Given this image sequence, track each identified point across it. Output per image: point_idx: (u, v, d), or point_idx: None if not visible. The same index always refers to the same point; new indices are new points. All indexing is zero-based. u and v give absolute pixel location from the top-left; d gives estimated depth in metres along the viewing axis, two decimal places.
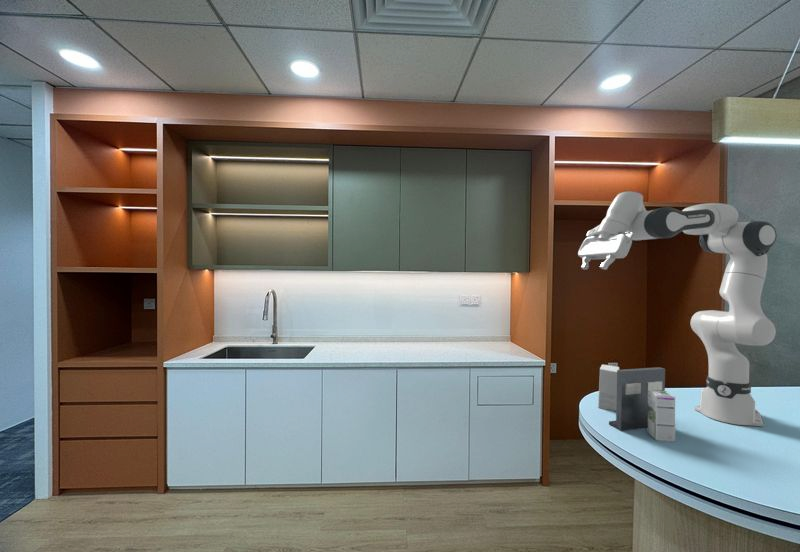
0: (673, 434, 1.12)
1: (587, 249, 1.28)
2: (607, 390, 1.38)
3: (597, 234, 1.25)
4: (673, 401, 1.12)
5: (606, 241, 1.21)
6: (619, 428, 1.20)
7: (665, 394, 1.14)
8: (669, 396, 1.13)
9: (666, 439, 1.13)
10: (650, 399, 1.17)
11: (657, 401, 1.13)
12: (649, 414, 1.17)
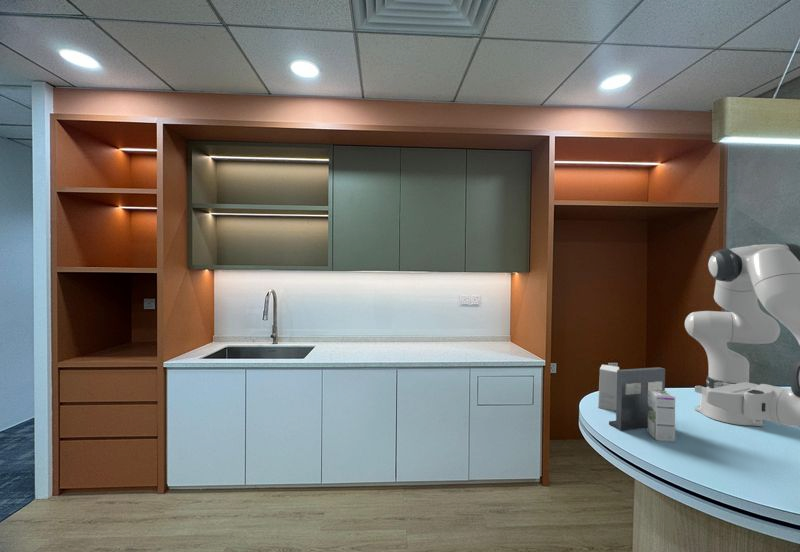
0: (673, 434, 1.12)
1: None
2: (607, 390, 1.38)
3: None
4: (673, 401, 1.12)
5: None
6: (619, 428, 1.20)
7: (665, 394, 1.14)
8: (669, 396, 1.13)
9: (666, 439, 1.13)
10: (650, 399, 1.17)
11: (657, 401, 1.13)
12: (649, 414, 1.17)
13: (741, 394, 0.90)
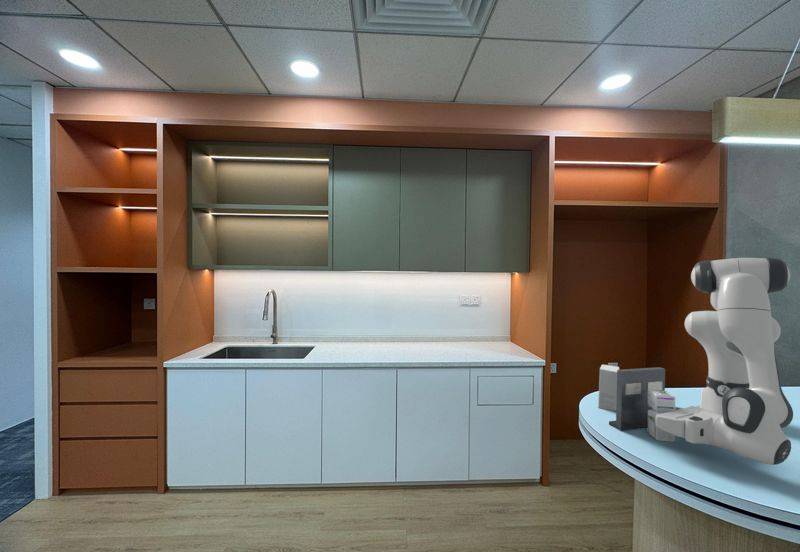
0: None
1: None
2: (607, 390, 1.38)
3: None
4: (673, 401, 1.12)
5: None
6: (619, 428, 1.20)
7: (665, 394, 1.14)
8: (669, 396, 1.13)
9: (666, 439, 1.13)
10: (650, 399, 1.17)
11: (657, 401, 1.13)
12: None
13: (683, 420, 1.02)
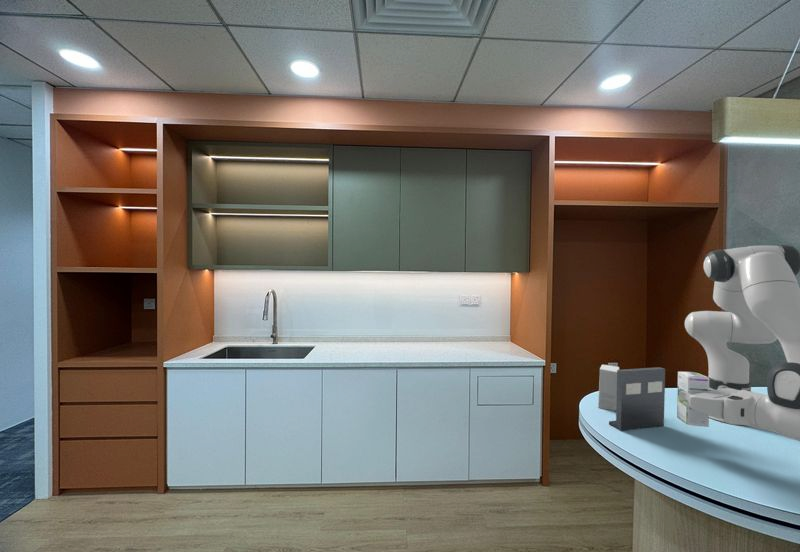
0: (707, 418, 1.04)
1: None
2: (607, 390, 1.38)
3: None
4: (707, 382, 1.04)
5: None
6: (619, 428, 1.20)
7: (698, 375, 1.05)
8: (702, 377, 1.04)
9: (699, 424, 1.04)
10: (681, 381, 1.08)
11: (689, 382, 1.05)
12: (679, 397, 1.09)
13: (721, 400, 0.94)
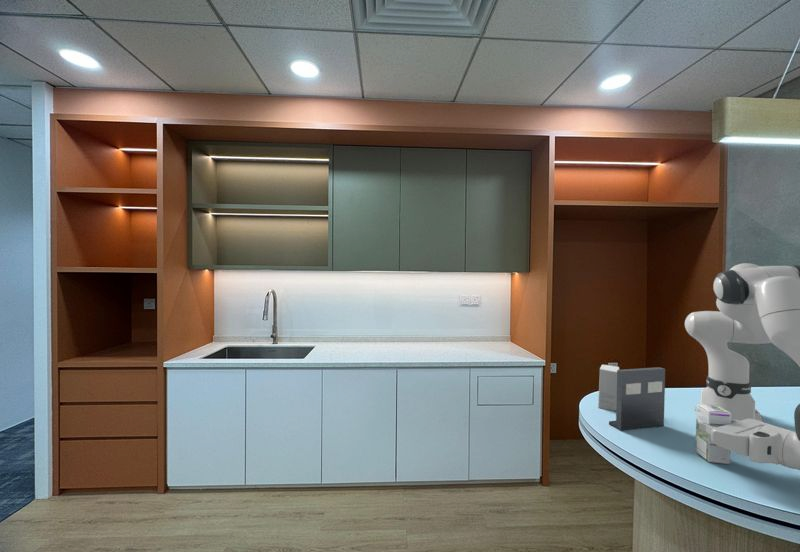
0: (728, 455, 0.99)
1: None
2: (607, 390, 1.38)
3: None
4: (729, 418, 0.99)
5: None
6: (619, 428, 1.20)
7: (719, 410, 1.01)
8: (724, 412, 1.00)
9: (720, 461, 1.00)
10: (700, 415, 1.03)
11: (710, 417, 1.00)
12: (698, 432, 1.04)
13: (746, 436, 0.89)
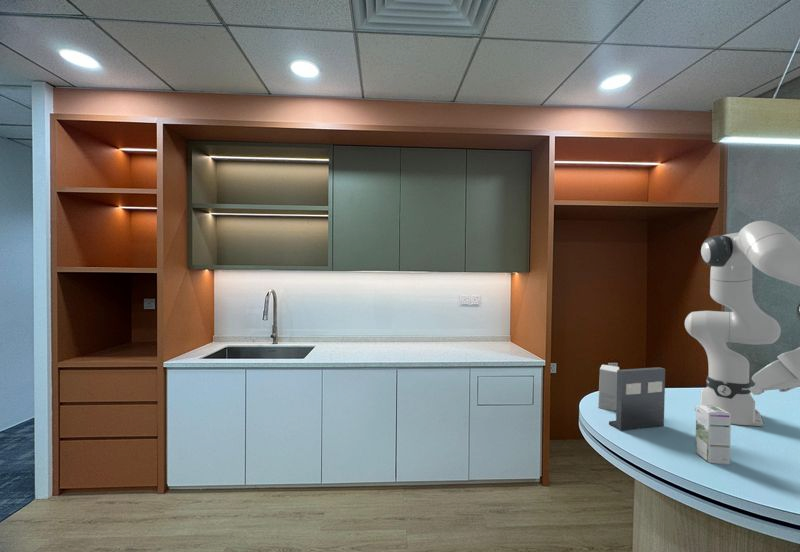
0: (728, 456, 0.99)
1: (783, 385, 0.85)
2: (607, 390, 1.38)
3: None
4: (728, 419, 0.99)
5: None
6: (619, 428, 1.20)
7: (718, 410, 1.00)
8: (724, 413, 0.99)
9: (720, 462, 1.00)
10: (700, 416, 1.03)
11: (710, 419, 1.00)
12: (698, 433, 1.04)
13: (777, 360, 0.84)
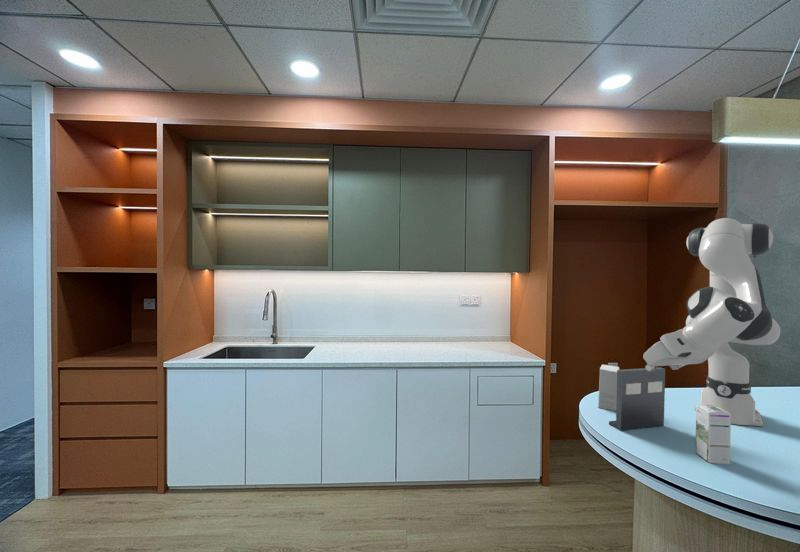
0: (728, 456, 0.99)
1: (666, 362, 1.04)
2: (607, 390, 1.38)
3: None
4: (728, 419, 0.99)
5: None
6: (619, 428, 1.20)
7: (718, 410, 1.00)
8: (724, 413, 0.99)
9: (720, 462, 1.00)
10: (700, 416, 1.03)
11: (710, 419, 1.00)
12: (698, 433, 1.04)
13: (660, 341, 1.03)
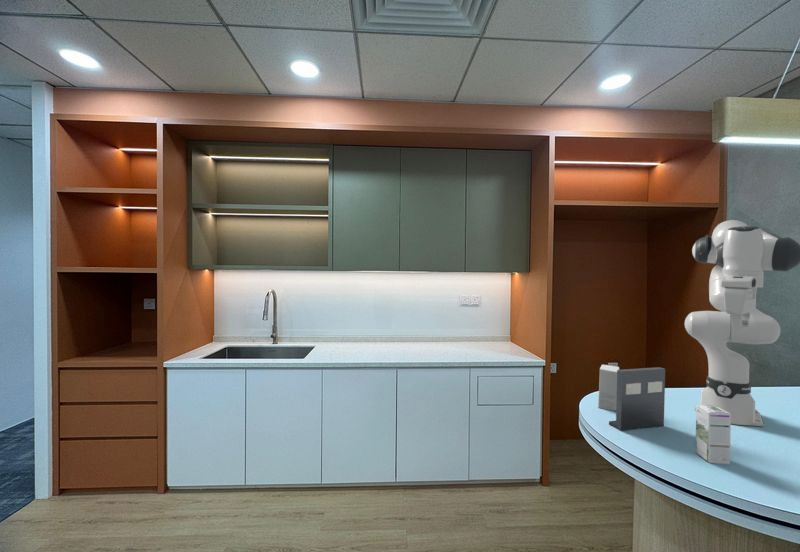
0: (728, 456, 0.99)
1: (746, 305, 1.01)
2: (607, 390, 1.38)
3: None
4: (728, 419, 0.99)
5: (750, 294, 1.05)
6: (619, 428, 1.20)
7: (718, 410, 1.00)
8: (724, 413, 0.99)
9: (720, 462, 1.00)
10: (700, 416, 1.03)
11: (710, 419, 1.00)
12: (698, 433, 1.04)
13: (724, 288, 1.02)
